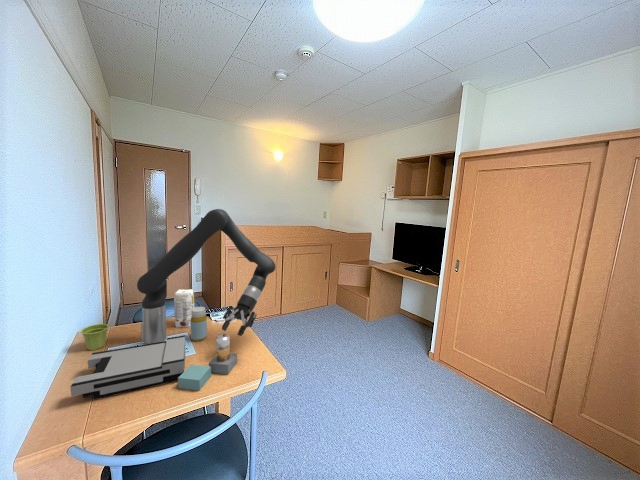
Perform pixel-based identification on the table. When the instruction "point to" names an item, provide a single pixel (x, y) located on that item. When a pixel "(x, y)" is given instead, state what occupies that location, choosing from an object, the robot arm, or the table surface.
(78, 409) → the table surface
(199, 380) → the stand
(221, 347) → the salt shaker
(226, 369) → the stand
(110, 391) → the office tray
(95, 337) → the plant pot
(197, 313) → the bottle
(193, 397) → the table surface
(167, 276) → the robot arm
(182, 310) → the juice carton
